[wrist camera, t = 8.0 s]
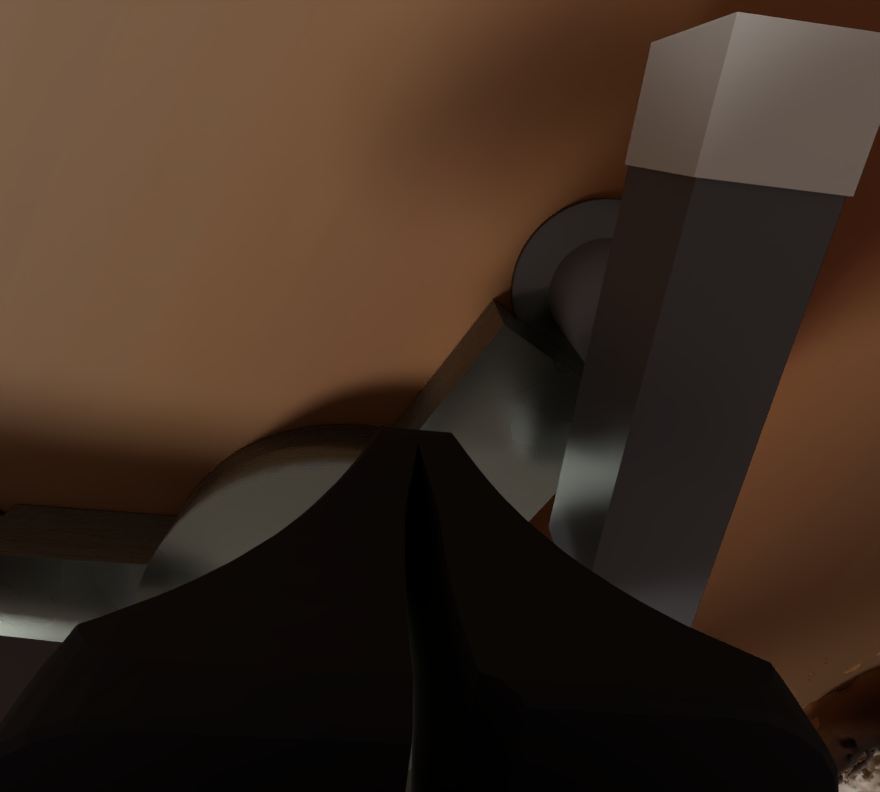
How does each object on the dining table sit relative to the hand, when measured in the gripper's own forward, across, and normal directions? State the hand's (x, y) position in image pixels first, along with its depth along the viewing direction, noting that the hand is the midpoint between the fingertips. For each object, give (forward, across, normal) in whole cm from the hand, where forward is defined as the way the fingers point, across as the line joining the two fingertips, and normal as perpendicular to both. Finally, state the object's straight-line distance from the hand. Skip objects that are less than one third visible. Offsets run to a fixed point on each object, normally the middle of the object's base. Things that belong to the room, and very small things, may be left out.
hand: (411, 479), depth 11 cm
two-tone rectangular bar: (+3, -4, -3) cm, 6 cm away
